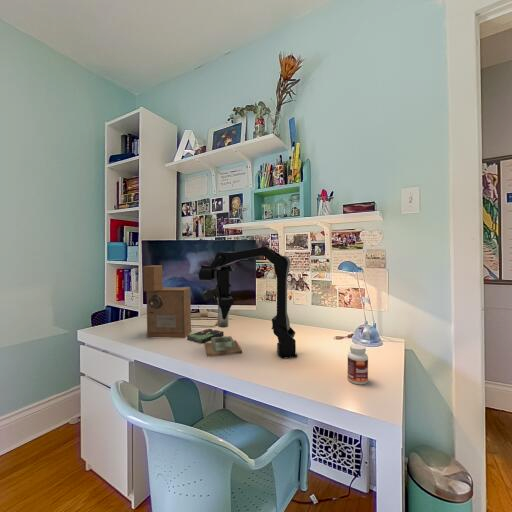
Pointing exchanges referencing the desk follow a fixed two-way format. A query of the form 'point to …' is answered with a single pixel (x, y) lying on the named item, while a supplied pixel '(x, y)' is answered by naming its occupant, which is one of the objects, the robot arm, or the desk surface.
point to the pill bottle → (357, 364)
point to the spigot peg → (222, 322)
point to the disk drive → (204, 336)
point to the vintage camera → (166, 306)
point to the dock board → (222, 346)
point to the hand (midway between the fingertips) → (223, 318)
